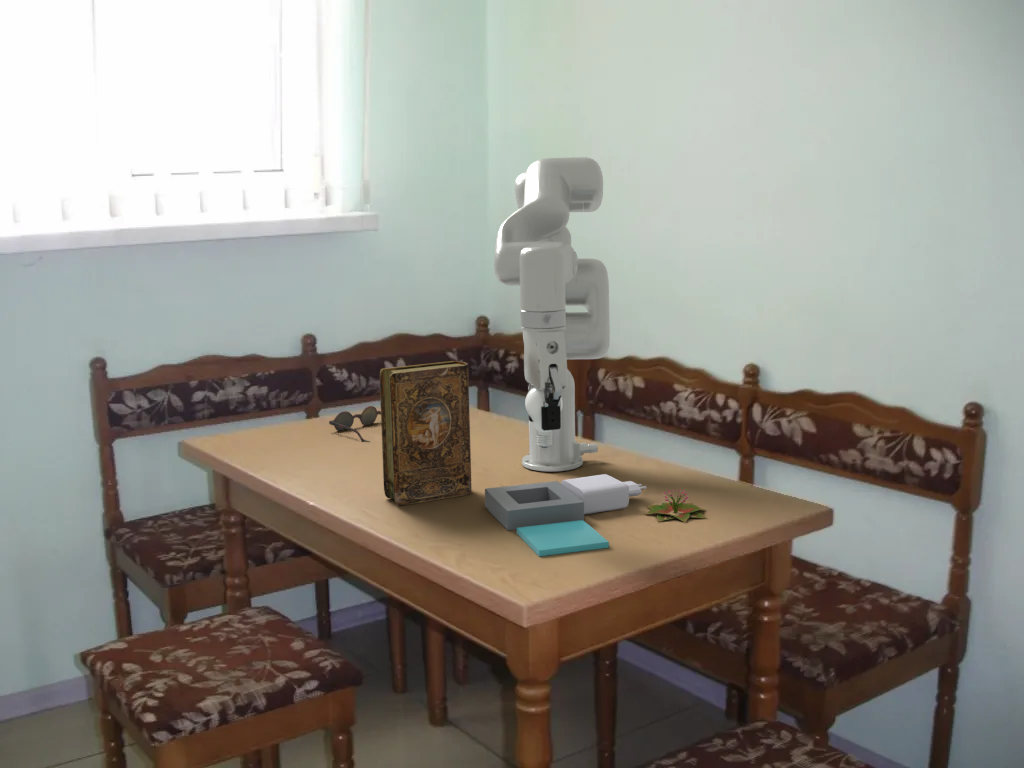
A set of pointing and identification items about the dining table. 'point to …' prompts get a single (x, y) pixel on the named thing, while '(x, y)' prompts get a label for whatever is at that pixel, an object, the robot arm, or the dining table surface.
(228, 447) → the dining table surface
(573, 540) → the plate
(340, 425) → the eyeglasses
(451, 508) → the dining table surface
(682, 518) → the lily flower
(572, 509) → the frame
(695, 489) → the dining table surface
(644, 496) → the dining table surface
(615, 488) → the charger
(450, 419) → the book
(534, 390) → the lightbulb
